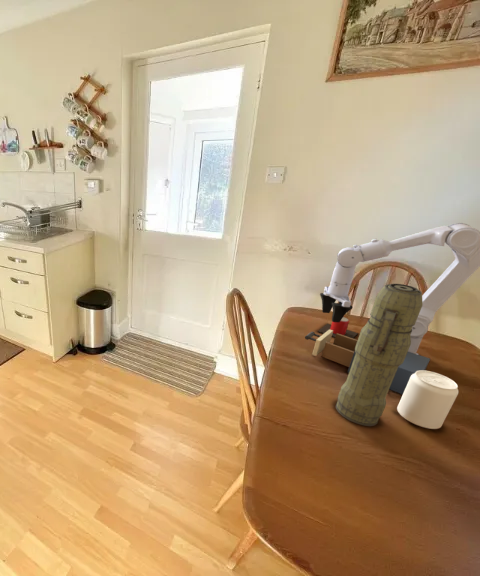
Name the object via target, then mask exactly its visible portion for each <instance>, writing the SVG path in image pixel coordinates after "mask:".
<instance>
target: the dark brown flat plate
mask: <svg viewBox="0 0 480 576" xmlns="http://www.w3.org/2000/svg"><path fill="white" fill-rule="evenodd" d="M331 324H332V323H326V324H325V325H324V326H322V327H321V328H320V329H318V330H317V333H319V334H322V335H323V334H324V333H325V332H327V331H328V330H329V329H330V328H331ZM358 334H359V332H355V331H352V330H350V329H347V330H346V333H345V335H344V336H347V337H350V338H353V339H355V337H357V335H358ZM335 336H336V334H334V333H333V334H332V337H331V338H334V339H335Z"/></svg>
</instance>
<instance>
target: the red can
mask: <svg viewBox="0 0 480 576" xmlns="http://www.w3.org/2000/svg"><path fill="white" fill-rule="evenodd" d="M349 323H350V319H348V318H347V317H345V316H344V317H343V318H342V319H341V321H340V322H332V321H331V323H330V324H331V328H330V330H333V333H334V334H337V333H338V334H341V335H345V333H346V330H348V327H349Z"/></svg>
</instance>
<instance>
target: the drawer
mask: <svg viewBox="0 0 480 576" xmlns="http://www.w3.org/2000/svg"><path fill="white" fill-rule="evenodd" d="M332 334H333V330H330V329H329V330H328V331H327V332H325V333H324V334H322V335H320V334H317V333H316V332H315V331H310V332H309V333H308V334H307V335H305V336H304V339H305V340H310V341H313V342H315V343H314V347H313V350H312V353H311V355H312V356H315V357H317V356H318V355H319V354H320V353H321V352H322V354H321V358H324V359H326V360H329V361H332V362H335V363H338V364H339V365H342V366H344V367H348V368H349V366H350V363H351V360H352V357H353V354H354V351H355V347H356V344H357V341H358V339H356V338H350V337H347V336H344V335H341V334H338V333H337V334H336V336H335V338H334V340H333V342H332V343H331V340H332V338H333V337H332ZM314 337H317V338H314Z"/></svg>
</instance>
